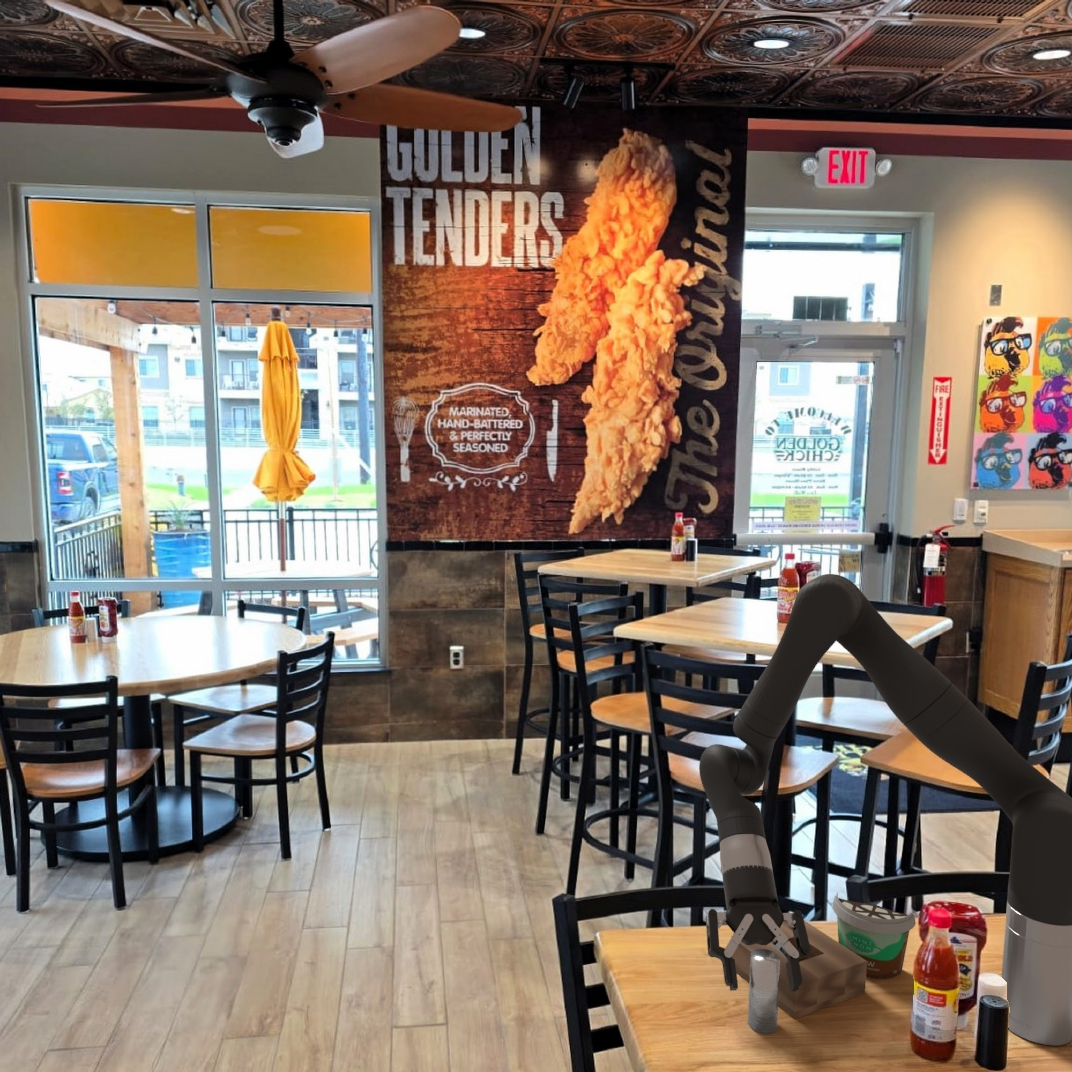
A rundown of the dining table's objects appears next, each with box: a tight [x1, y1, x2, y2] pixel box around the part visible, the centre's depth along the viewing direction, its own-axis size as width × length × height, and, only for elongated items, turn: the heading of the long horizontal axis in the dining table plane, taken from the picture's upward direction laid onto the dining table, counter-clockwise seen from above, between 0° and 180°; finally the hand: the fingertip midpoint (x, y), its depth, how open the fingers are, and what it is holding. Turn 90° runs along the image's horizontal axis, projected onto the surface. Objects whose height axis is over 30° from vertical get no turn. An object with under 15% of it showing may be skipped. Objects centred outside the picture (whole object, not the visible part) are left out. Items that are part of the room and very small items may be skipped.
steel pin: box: [747, 949, 780, 1035], centre depth 124 cm, size 4×4×10 cm
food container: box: [832, 891, 916, 980], centre depth 138 cm, size 12×6×10 cm, turn 62°
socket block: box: [730, 920, 867, 1020], centre depth 136 cm, size 14×14×5 cm
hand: (764, 989), depth 124 cm, fingers open, 8 cm apart
